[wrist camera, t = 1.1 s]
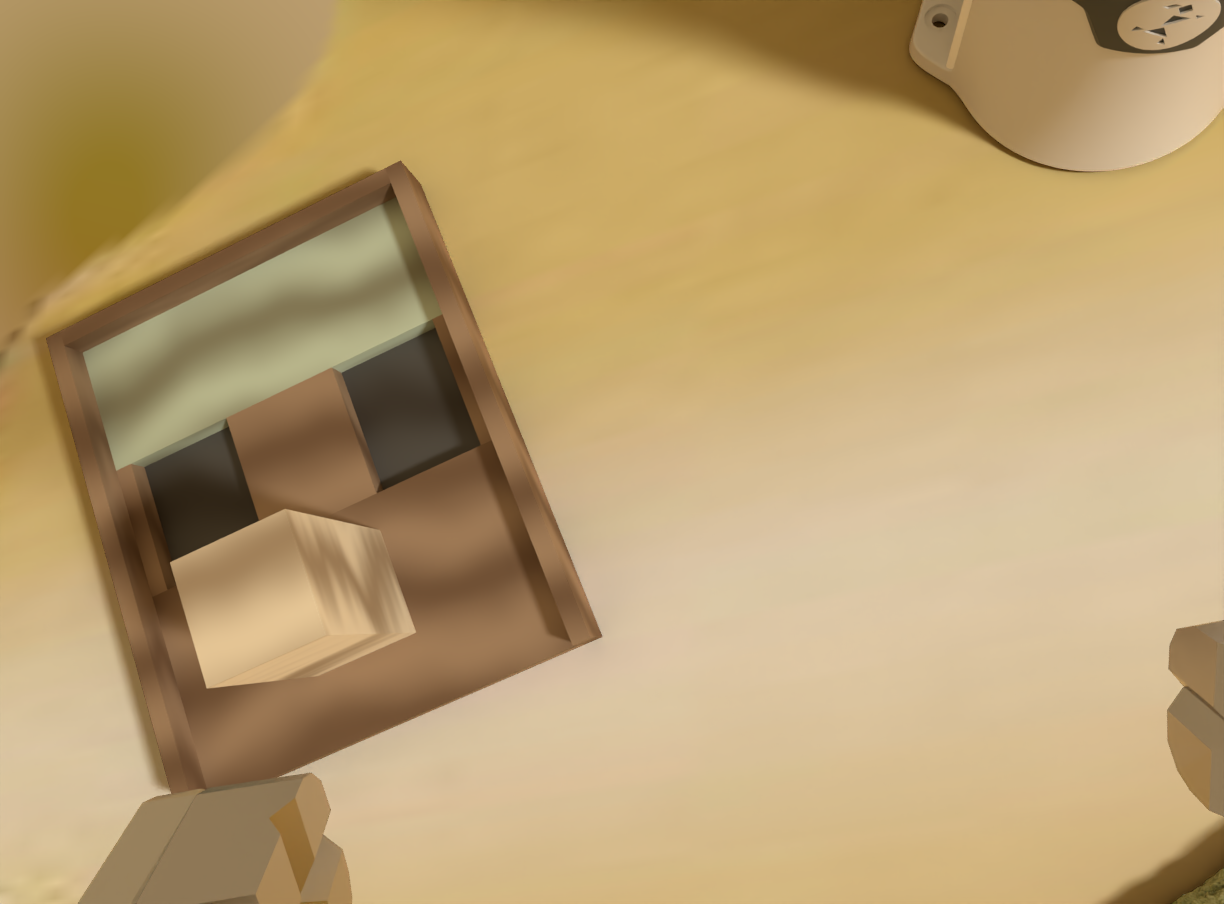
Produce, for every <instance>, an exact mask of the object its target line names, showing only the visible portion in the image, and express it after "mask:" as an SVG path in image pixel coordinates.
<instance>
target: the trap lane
mask: <svg viewBox="0 0 1224 904" xmlns="http://www.w3.org/2000/svg"><path fill="white" fill-rule="evenodd" d="M46 340H47V344H48V347H49V351H50V355H51V358H52V362H53V366H54V369H55V373H56V376H57V380H58V384H59V387H60V391H61V395H62V398H63V402H64V405H65V409H66V413H67V416H68V420H69V424H70V427H71V431H72V434H73V438H74V442H75V445H76V449H77V453H78V456H79V460H80V464H81V467H82V471H83V474H84V478H85V482H86V485H87V489H88V493H89V496H90V500H91V503H92V507H93V511H94V514H95V518H96V522H97V525H98V529H99V533H100V536H101V540H102V543H103V547H104V551H105V554H106V558H107V562H108V565H109V569H110V572H111V576H112V580H113V583H114V587H115V591H116V594H117V598H118V602H119V605H120V609H121V612H122V616H123V620H124V623H125V627H126V631H127V634H128V638H129V641H130V645H131V649H132V652H133V656H134V660H135V663H136V667H137V670H138V674H139V678H140V681H141V685H142V689H143V692H144V696H145V700H146V703H147V707H148V710H149V714H150V718H151V721H152V725H153V729H154V732H155V736H156V739H157V743H158V747H159V750H160V754H161V758H162V761H163V765H164V769H165V772H166V776H167V779H168V783H169V787H170V790H171V794H173V793H179V792H185V791H190V790H196V789H205V790H206V789H208V788H211V787H218V786H224V785H231V784H238V783H245V782H252V781H258V780H265V779H272V778H277V777H279V776H282V775H284V774H286V773H289V772H291V771H293V770H296V769H298V768H300V767H303V766H305V765H307V764H309V763H312V762H314V761H316V760H319V759H321V758H323V757H326V756H328V755H330V754H333V753H335V752H337V751H340V750H342V749H344V748H346V747H349V746H351V745H353V744H356V743H358V742H360V741H363V740H365V739H367V738H370V737H372V736H374V735H377V734H379V733H381V732H383V731H386V730H388V729H390V728H393V727H395V726H397V725H400V724H402V723H404V722H407V721H409V720H411V719H414V718H416V717H418V716H420V715H423V714H425V713H427V712H430V711H432V710H434V709H437V708H439V707H441V706H444V705H446V704H448V703H450V702H453V701H455V700H457V699H460V698H462V697H464V696H467V695H469V694H471V693H474V692H476V691H478V690H481V689H483V688H485V687H487V686H490V685H492V684H494V683H497V682H499V681H501V680H504V679H506V678H508V677H511V676H513V675H515V674H518V673H520V672H522V671H524V670H527V669H529V668H531V667H534V666H536V665H538V664H541V663H543V662H545V661H548V660H550V659H552V658H554V657H557V656H559V655H561V654H564V653H566V652H568V651H571V650H573V649H575V648H578V647H580V646H582V645H585V644H587V643H589V642H591V641H594V640H596V639H598V638H601V637H602V635H601V632H600V630H599V627H598V625H597V622H596V620H595V617H594V615H593V612H592V610H591V607H590V605H589V602H588V600H587V597H586V595H585V592H584V590H583V587H582V585H581V582H580V580H579V577H578V575H577V572H576V570H575V567H574V565H573V562H572V560H571V557H570V555H569V552H568V550H567V547H566V545H565V543H564V540H563V538H562V535H561V533H560V530H559V528H558V525H557V523H556V520H555V518H554V515H553V513H552V510H551V508H550V505H549V503H548V500H547V498H546V495H545V493H544V490H543V488H542V485H541V483H540V480H539V478H538V475H537V473H536V470H535V468H534V465H533V463H532V460H531V458H530V455H529V453H528V450H527V448H526V445H525V443H524V440H523V438H522V435H521V433H520V430H519V428H518V425H517V423H516V420H515V418H514V415H513V413H512V410H511V408H510V405H509V403H508V400H507V398H506V395H505V393H504V390H503V388H502V385H501V383H500V380H499V378H498V376H497V373H496V371H495V368H494V366H493V363H492V361H491V358H490V356H489V353H488V351H487V348H486V346H485V343H484V341H483V338H482V336H481V333H480V331H479V328H478V326H477V323H476V321H475V318H474V316H473V313H472V311H471V308H470V306H469V303H468V301H467V298H466V296H465V293H464V291H463V288H462V286H461V283H460V281H459V278H458V276H457V273H456V271H455V268H454V266H453V263H452V261H451V258H450V256H449V253H448V251H447V248H446V246H445V243H444V241H443V238H442V236H441V233H440V231H439V228H438V226H437V223H436V221H435V218H434V216H433V213H432V211H431V209H430V206H429V204H428V201H427V199H426V196H425V194H424V191H423V189H422V186H421V184H420V183H419V182H418V180H417V179H416V178H415V177H414V176H413V175H412V173H411V172H410V171H409V170H408V169H407V167H406V166H405V165H404V164H403V163H402V162H401V161H399V162H397V163H395V164H393V165H391V166H389V167H387V168H385V169H383V170H381V171H379V172H377V173H375V174H373V175H371V176H369V177H367V178H365V179H363V180H361V181H359V182H357V183H355V184H353V185H351V186H349V187H347V188H345V189H343V190H341V191H339V192H337V193H335V194H333V195H331V196H329V197H327V198H325V199H323V200H321V201H319V202H317V203H315V204H313V205H311V206H309V207H307V208H305V209H303V210H301V211H299V212H297V213H295V214H293V215H291V216H289V217H287V218H285V219H283V220H281V221H279V222H277V223H275V224H273V225H271V226H269V227H267V228H265V229H263V230H261V231H259V232H257V233H255V234H253V235H251V236H249V237H247V238H245V239H243V240H241V241H239V242H237V243H235V244H233V245H231V246H229V247H227V248H225V249H223V250H221V251H219V252H217V253H215V254H213V255H211V256H209V257H207V258H205V259H203V260H201V261H199V262H197V263H195V264H193V265H191V266H189V267H187V268H185V269H183V270H181V271H179V272H177V273H175V274H173V275H171V276H169V277H167V278H165V279H163V280H161V281H159V282H157V283H155V284H153V285H151V286H149V287H147V288H145V289H143V290H141V291H139V292H137V293H135V294H133V295H131V296H129V297H127V298H125V299H123V300H121V301H119V302H117V303H115V304H113V305H111V306H109V307H107V308H105V309H103V310H102V311H100V312H98V313H96V314H94V315H92V316H90V317H88V318H86V319H84V320H82V321H80V322H78V323H76V324H74V325H72V326H70V327H68V328H66V329H64V330H62V331H60V332H58V333H56V334H54V335H52V336H50V337H48V338H46ZM284 509H288V510H293V511H297V512H301V513H306V514H310V515H315V516H319V517H324V518H328V519H333V520H337V521H342V522H346V523H351V524H355V525H360V526H364V527H369V528H373V529H377V530H380V531H381V534H382V537H383V540H384V543H385V545H386V548H387V551H388V554H389V557H390V560H391V562H392V565H393V568H394V571H395V574H396V577H397V579H398V582H399V585H400V588H401V591H402V594H403V597H404V599H405V602H406V605H407V608H408V611H409V614H410V616H411V619H412V622H413V625H414V628H415V631H416V633H414V634H412V635H410V636H408V637H405V638H403V639H401V640H399V641H396V642H394V643H392V644H390V645H387V646H385V647H383V648H381V649H378V650H376V651H374V652H371V653H369V654H367V655H365V656H362V657H360V658H358V659H356V660H353V661H351V662H349V663H347V664H344V665H342V666H340V667H338V668H335V669H333V670H331V671H329V672H326V673H324V674H322V675H320V676H315V677H306V678H297V679H288V680H279V681H270V682H261V683H252V684H243V685H234V686H225V687H216V688H206V684H205V681H204V677H203V674H202V670H201V667H200V664H199V660H198V657H197V653H196V650H195V647H194V643H193V640H192V636H191V633H190V629H189V626H188V623H187V619H186V616H185V612H184V609H183V605H182V602H181V599H180V595H179V592H178V588H177V585H176V582H175V578H174V575H173V571H172V568H171V564H170V562H172V561H174V560H176V559H178V558H181V557H183V556H185V555H187V554H189V553H191V552H193V551H196V550H198V549H200V548H202V547H204V546H206V545H208V544H211V543H213V542H215V541H217V540H219V539H221V538H223V537H226V536H228V535H230V534H232V533H234V532H236V531H239V530H241V529H243V528H245V527H247V526H249V525H251V524H254V523H256V522H258V521H260V520H262V519H264V518H266V517H269V516H271V515H273V514H275V513H277V512H279V511H282V510H284Z"/></svg>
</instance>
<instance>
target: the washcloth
mask: <svg viewBox="0 0 1224 904" xmlns="http://www.w3.org/2000/svg"><path fill="white" fill-rule="evenodd" d="M1172 904H1224V868H1223V869H1221V870H1219V872H1218V873H1216V874H1215V875H1214V876H1212V877H1211V878H1209V879H1207V880H1206V881H1205V883H1204V884H1203V885H1202V886H1200V887H1197V888H1196V889H1195V890H1194V891H1192V892H1189V893H1187V894H1183V895H1182V896H1181V897H1180V898H1178V899H1177V900H1176V901H1175V902H1173V903H1172Z"/></svg>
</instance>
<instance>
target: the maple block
mask: <svg viewBox="0 0 1224 904" xmlns="http://www.w3.org/2000/svg"><path fill="white" fill-rule="evenodd" d="M170 564H171V568H172V571H173V575H174V578H175V582H176V585H177V588H178V592H179V595H180V599H181V602H182V605H183V609H184V612H185V616H186V619H187V623H188V626H189V629H190V633H191V636H192V640H193V643H194V647H195V650H196V653H197V657H198V660H199V664H200V667H201V670H202V674H203V677H204V681H205V684H206V688H216V687H225V686H234V685H243V684H252V683H261V682H270V681H279V680H288V679H297V678H306V677H315V676H320V675H322V674H324V673H326V672H329V671H331V670H333V669H335V668H338V667H340V666H342V665H344V664H347V663H349V662H351V661H353V660H356V659H358V658H360V657H362V656H365V655H367V654H369V653H371V652H374V651H376V650H378V649H381V648H383V647H385V646H387V645H390V644H392V643H394V642H396V641H399V640H401V639H403V638H405V637H408V636H410V635H412V634H414V633H416V631H415V628H414V625H413V622H412V619H411V616H410V614H409V611H408V608H407V605H406V602H405V599H404V597H403V594H402V591H401V588H400V585H399V582H398V579H397V577H396V574H395V571H394V568H393V565H392V562H391V560H390V557H389V554H388V551H387V548H386V545H385V543H384V540H383V537H382V534H381V531H380V530H377V529H373V528H369V527H364V526H360V525H355V524H351V523H346V522H342V521H337V520H333V519H328V518H324V517H319V516H315V515H310V514H306V513H301V512H297V511H293V510H288V509H284V510H282V511H279V512H277V513H275V514H273V515H271V516H269V517H266V518H264V519H262V520H260V521H258V522H256V523H254V524H251V525H249V526H247V527H245V528H243V529H241V530H239V531H236V532H234V533H232V534H230V535H228V536H226V537H223V538H221V539H219V540H217V541H215V542H213V543H211V544H208V545H206V546H204V547H202V548H200V549H198V550H196V551H193V552H191V553H189V554H187V555H185V556H183V557H181V558H178V559H176V560H174V561H172V562H170Z"/></svg>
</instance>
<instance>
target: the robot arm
mask: <svg viewBox="0 0 1224 904" xmlns="http://www.w3.org/2000/svg"><path fill="white" fill-rule="evenodd" d="M937 21H940V22H943V23H944V24H945V25H946V26H944V27H941V28H938V27H935V26H934V25H933V24H932V23H934V22H937ZM909 52H910V55H911V58H912V59H913V60H914V62H915V63H916V64H917V65H919V66H920V67H921V68H922V69H924V70H925V71H927V72H928V73H929V74H931V75H933V76H934V77H936V78H938V79H939V80H941V81H943V82H944V83H946V84H948V85H949V86H950V87H951V88H952V89H953V90H954V91H955V92H956V93H957V95H958V96H959V97H960V98H961V100H962V101H963V103H964V104H965V106H966V107H967V109H968V110H969V112H970V113H971V115H972V116H973V117H974V119H975V120H976V121H977V122H978V123H979V125H980V126H981V127H982V128H983V129H984V130H985V131H986V132H987V133H988V134H989V135H991V136H992V137H993V138H994V139H996V140H997V141H998V142H999V143H1001V144H1002V145H1004V146H1005V147H1007V148H1008V149H1010V150H1012V151H1014V152H1015V153H1017V154H1019V155H1021V156H1023V157H1025V158H1028V159H1030V160H1033V161H1035V162H1038V163H1041V164H1044V165H1048V166H1052V167H1056V168H1061V169H1067V170H1075V171H1110V170H1118V169H1124V168H1129V167H1133V166H1137V165H1141V164H1144V163H1147V162H1150V161H1153V160H1155V159H1158V158H1160V157H1163V156H1165V155H1167V154H1169V153H1171V152H1173V151H1175V150H1176V149H1178V148H1180V147H1181V146H1183V145H1185V144H1186V143H1187V142H1189V141H1190V140H1192V139H1193V138H1194V137H1196V136H1197V135H1198V134H1199V133H1201V132H1202V131H1203V130H1204V129H1205V128H1206V127H1207V126H1208V125H1209V124H1210V123H1211V122H1212V121H1213V120H1214V119H1215V117H1216V116H1217V115H1218V114H1219V113H1220V111H1221V110H1222V109H1223V108H1224V0H923V1H922V4H921V7H920V11H919V14H918V17H917V21H916V24H915V27H914V30H913V34H912V37H911V40H910V45H909ZM1168 669H1169V670H1170V671H1171V672H1172V674H1173V675H1174V676H1175V677H1176V678H1177V679H1178V680H1179V682H1180V683H1181V684H1182V685H1183V686H1184V687H1183V688H1182V690H1181V691H1180V693H1179V694H1178V695H1177V697H1176V698H1175V700H1174V701H1173V703H1172V704H1171V705H1170V707H1169V708H1168V710H1167V737H1168V744H1169V747H1170V750H1171V753H1172V756H1173V759H1174V762H1175V765H1176V768H1177V771H1178V772H1179V774H1180V775H1181V777H1182V779H1183V780H1184V782H1185V783H1186V785H1187V786H1188V788H1189V790H1190V791H1191V792H1192V793H1193V794H1194V795H1195V796H1196V797H1197V798H1198V800H1199V801H1200V802H1201V803H1202V804H1203V805H1204V806H1205V807H1206V808H1207V809H1208V810H1209V811H1212V812H1214V813H1216V814H1219V815H1221V816H1224V620H1221V621H1216V622H1211V623H1205V624H1200V625H1195V626H1190V627H1184V628H1179V629H1176V632H1175V634H1174V636H1173V639H1172V641H1171V643H1170V647H1169V668H1168ZM330 811H331V809H330V806H329V803H328V800H327V797H326V794H325V791H324V788H323V785H322V782H321V780H320V779H318V778H317V777H316V776H315V775H314V774H312V773H306V774H299V775H292V776H286V777H279V778H272V779H265V780H258V781H252V782H245V783H238V784H231V785H224V786H218V787H211V788H208V789H206V790H205V789H196V790H190V791H185V792H179V793H173V794H168V795H162V796H157V797H154V798H152V799H150V800H148V801H145V802H143V803H142V804H141V806H140V807H139V809H138V810H137V812H136V814H135V815H134V817H133V818H132V820H131V821H130V823H129V824H128V826H127V828H126V829H125V831H124V832H123V834H122V835H121V837H120V838H119V840H118V842H117V843H116V845H115V846H114V848H113V849H112V851H111V852H110V854H109V856H108V857H107V859H106V860H105V862H104V863H103V865H102V866H101V868H100V870H99V871H98V873H97V874H96V876H95V877H94V879H93V880H92V882H91V884H90V885H89V887H88V888H87V890H86V891H85V893H84V894H83V896H82V898H81V899H80V901H79V902H78V904H352V892H351V884H350V877H349V871H348V867H347V863H346V860H345V856H344V853H343V849H341V848H340V847H339V846H337V845H336V844H335V843H334V842H332V841H331V840H330V839H328V838H327V837H326V836H324V835H323V833H324V830H325V827H326V824H327V821H328V818H329V815H330Z"/></svg>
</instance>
